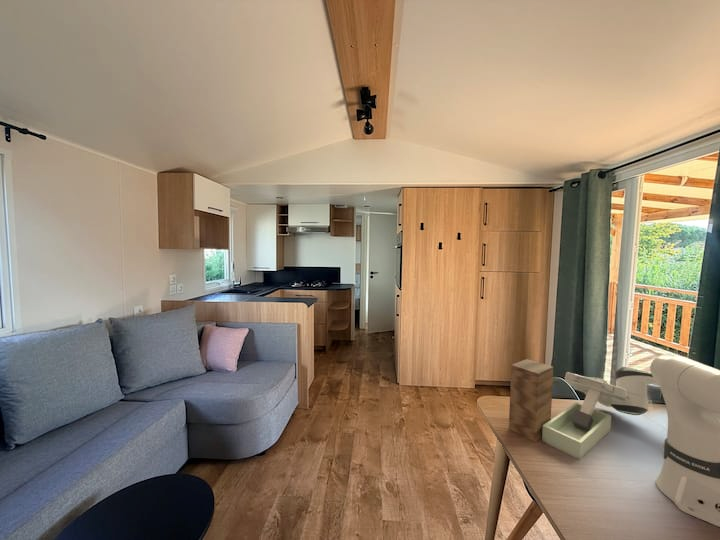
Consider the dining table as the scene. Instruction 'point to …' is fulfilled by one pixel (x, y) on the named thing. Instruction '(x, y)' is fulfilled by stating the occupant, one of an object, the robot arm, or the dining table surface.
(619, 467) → the dining table surface
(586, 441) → the bin
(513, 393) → the stand
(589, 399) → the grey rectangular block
